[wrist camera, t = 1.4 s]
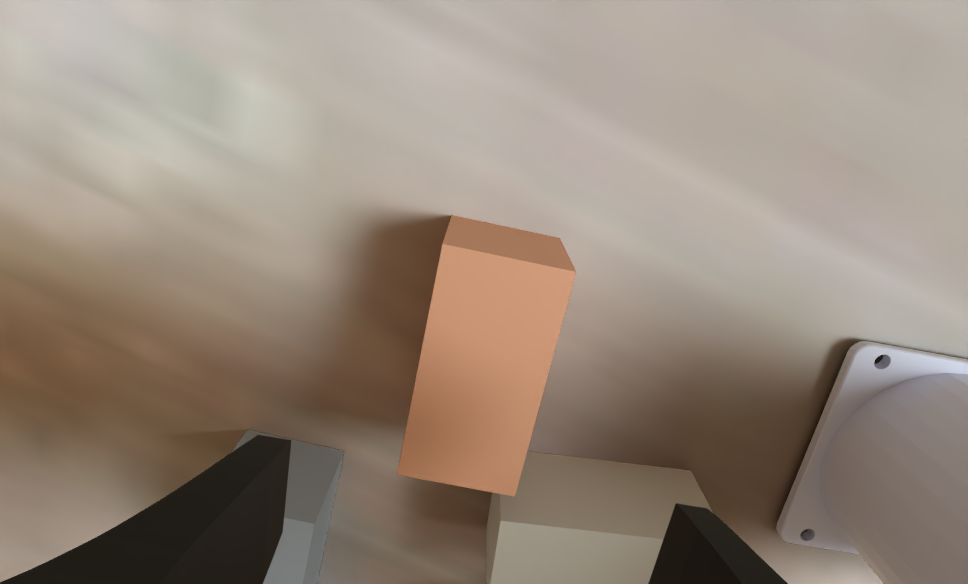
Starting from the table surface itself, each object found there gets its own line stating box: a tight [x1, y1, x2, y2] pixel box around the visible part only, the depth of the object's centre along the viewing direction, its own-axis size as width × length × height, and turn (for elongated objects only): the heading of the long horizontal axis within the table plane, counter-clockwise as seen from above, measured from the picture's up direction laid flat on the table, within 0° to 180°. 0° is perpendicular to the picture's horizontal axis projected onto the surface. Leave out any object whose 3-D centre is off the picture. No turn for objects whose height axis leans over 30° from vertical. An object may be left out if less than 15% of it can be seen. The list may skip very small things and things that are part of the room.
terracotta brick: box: [397, 215, 576, 497], centre depth 18 cm, size 4×7×4 cm, turn 168°
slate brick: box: [231, 430, 344, 584], centre depth 21 cm, size 4×7×4 cm, turn 166°
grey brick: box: [486, 451, 714, 584], centre depth 20 cm, size 4×7×4 cm, turn 83°
